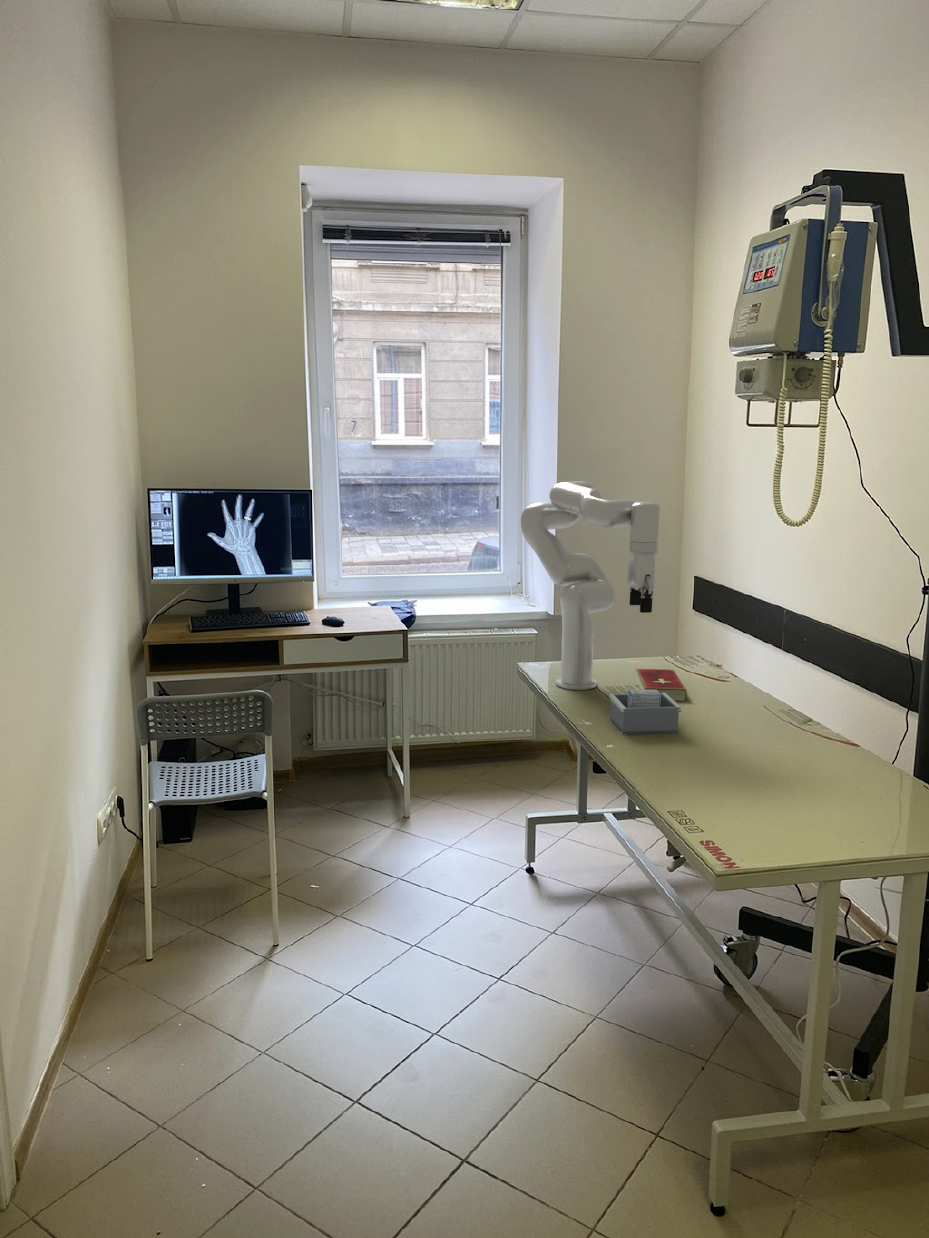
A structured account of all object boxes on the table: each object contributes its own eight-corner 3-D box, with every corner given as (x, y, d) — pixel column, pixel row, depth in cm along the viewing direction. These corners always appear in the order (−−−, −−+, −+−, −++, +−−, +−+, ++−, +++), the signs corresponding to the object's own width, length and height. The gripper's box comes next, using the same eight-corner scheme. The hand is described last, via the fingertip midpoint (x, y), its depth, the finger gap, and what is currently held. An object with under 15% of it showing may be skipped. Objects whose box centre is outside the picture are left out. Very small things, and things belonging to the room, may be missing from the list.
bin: (608, 719, 248) (609, 694, 247) (663, 717, 250) (665, 692, 248) (621, 734, 236) (622, 708, 234) (679, 733, 238) (680, 707, 236)
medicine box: (655, 720, 245) (657, 689, 243) (659, 725, 241) (661, 694, 239) (626, 720, 245) (627, 689, 243) (629, 725, 241) (631, 694, 239)
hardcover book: (673, 681, 286) (674, 668, 285) (686, 702, 265) (687, 688, 264) (635, 680, 286) (635, 667, 286) (644, 701, 266) (645, 687, 265)
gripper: (621, 543, 258) (618, 602, 262) (639, 552, 241) (636, 615, 245) (647, 543, 259) (644, 602, 262) (667, 552, 242) (663, 615, 246)
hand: (640, 608), depth 254 cm, fingers open, 9 cm apart
